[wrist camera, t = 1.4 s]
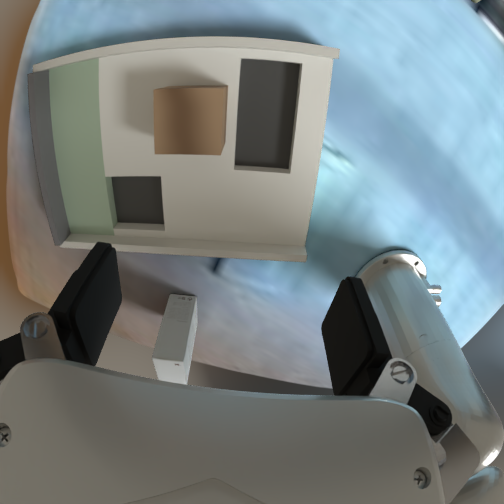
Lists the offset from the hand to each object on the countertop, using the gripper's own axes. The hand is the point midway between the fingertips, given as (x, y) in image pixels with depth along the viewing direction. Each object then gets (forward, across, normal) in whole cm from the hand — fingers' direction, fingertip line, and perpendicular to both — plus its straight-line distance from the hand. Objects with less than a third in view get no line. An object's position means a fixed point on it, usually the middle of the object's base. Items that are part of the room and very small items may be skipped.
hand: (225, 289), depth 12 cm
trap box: (+24, +8, +1) cm, 25 cm away
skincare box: (+24, +5, +26) cm, 36 cm away
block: (+22, +5, -3) cm, 22 cm away
